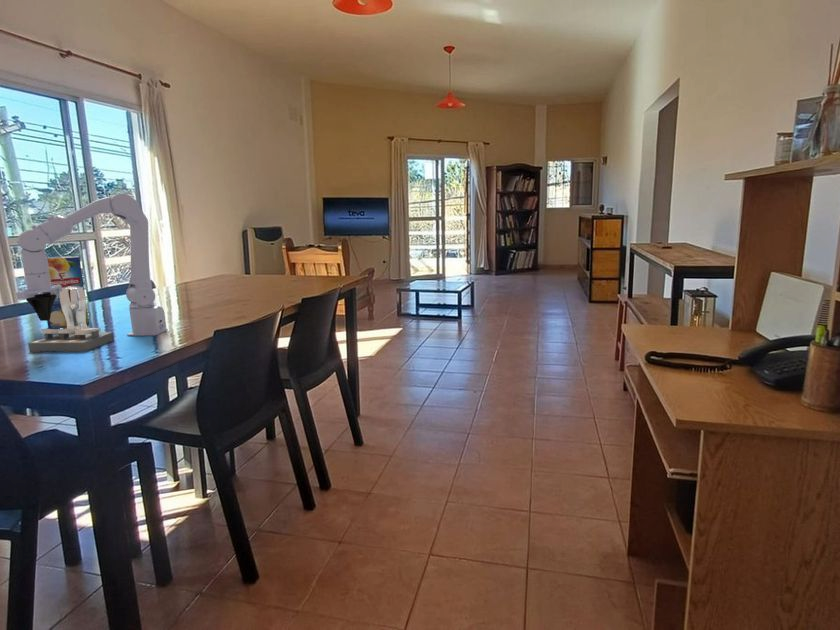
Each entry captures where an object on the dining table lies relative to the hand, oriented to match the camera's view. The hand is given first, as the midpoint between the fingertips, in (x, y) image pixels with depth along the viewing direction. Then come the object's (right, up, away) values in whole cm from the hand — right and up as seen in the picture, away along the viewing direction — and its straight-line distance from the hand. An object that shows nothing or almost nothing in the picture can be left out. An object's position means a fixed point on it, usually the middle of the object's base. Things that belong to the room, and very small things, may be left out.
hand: (45, 320), depth 148 cm
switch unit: (+5, -8, +4) cm, 10 cm away
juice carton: (-15, -3, +32) cm, 35 cm away
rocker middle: (+5, -3, +4) cm, 7 cm away
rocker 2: (+10, -3, +3) cm, 11 cm away
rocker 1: (0, -3, +4) cm, 5 cm away
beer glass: (-5, -5, +22) cm, 23 cm away
